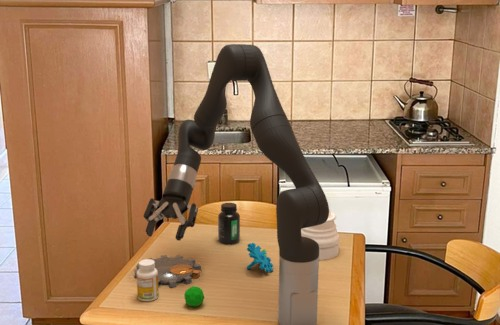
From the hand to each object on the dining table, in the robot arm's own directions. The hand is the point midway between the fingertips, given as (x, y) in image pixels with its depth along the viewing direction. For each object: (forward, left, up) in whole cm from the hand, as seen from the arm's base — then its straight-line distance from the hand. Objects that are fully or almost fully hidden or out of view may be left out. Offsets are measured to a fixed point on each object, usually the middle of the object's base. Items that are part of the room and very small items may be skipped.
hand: (163, 237), depth 169 cm
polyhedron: (-15, -5, -13) cm, 21 cm away
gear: (+1, -27, -13) cm, 30 cm away
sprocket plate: (+5, -2, -13) cm, 14 cm away
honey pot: (+9, -48, -13) cm, 50 cm away
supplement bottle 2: (+24, -24, -13) cm, 36 cm away
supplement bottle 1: (-8, +5, -13) cm, 16 cm away
